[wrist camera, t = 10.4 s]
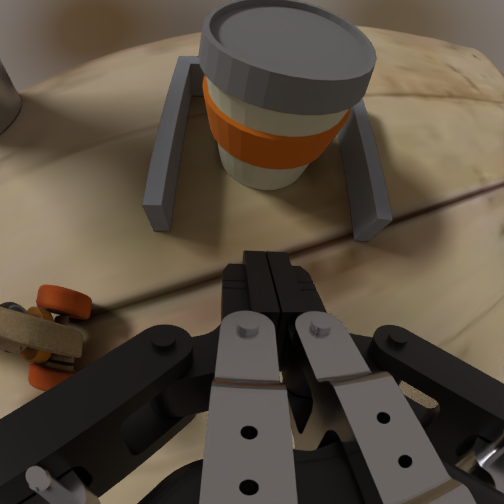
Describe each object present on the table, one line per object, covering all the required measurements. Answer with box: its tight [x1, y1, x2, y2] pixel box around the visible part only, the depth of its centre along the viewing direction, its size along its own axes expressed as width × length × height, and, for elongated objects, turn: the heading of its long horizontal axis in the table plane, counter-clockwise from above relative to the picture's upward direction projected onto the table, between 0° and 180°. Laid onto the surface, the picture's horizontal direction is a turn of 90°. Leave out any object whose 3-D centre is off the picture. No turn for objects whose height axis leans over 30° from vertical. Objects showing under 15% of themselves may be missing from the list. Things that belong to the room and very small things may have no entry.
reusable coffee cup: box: [199, 0, 376, 190], centre depth 24 cm, size 13×13×15 cm
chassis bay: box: [142, 56, 393, 241], centre depth 28 cm, size 19×20×6 cm
